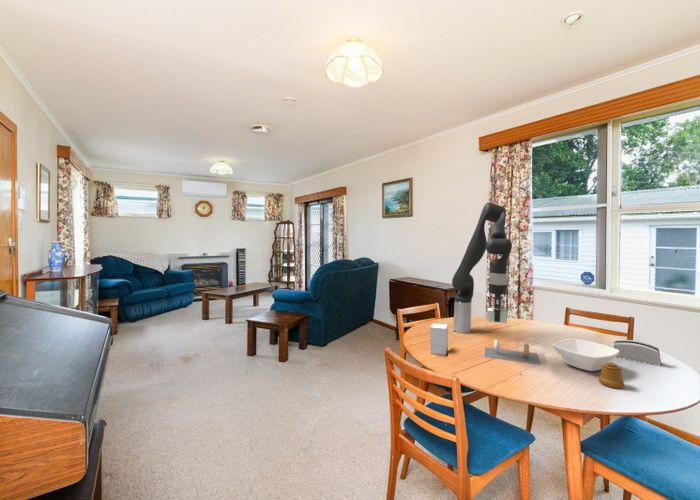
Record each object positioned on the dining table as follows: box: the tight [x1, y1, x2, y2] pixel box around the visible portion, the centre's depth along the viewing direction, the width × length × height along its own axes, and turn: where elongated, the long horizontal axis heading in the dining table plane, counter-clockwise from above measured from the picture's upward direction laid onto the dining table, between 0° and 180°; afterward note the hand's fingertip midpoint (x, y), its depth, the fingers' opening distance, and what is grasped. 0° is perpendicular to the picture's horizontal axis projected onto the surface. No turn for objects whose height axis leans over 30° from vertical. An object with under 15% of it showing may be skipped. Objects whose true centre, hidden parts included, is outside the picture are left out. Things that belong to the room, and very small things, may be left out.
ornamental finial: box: [598, 362, 625, 390], centre depth 125 cm, size 8×8×8 cm
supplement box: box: [429, 323, 449, 356], centre depth 159 cm, size 7×7×13 cm
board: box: [483, 339, 542, 366], centre depth 151 cm, size 22×14×8 cm, turn 66°
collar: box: [486, 307, 508, 324], centre depth 152 cm, size 8×6×5 cm
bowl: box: [552, 338, 619, 372], centre depth 141 cm, size 21×21×9 cm
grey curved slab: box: [613, 339, 662, 366], centre depth 149 cm, size 17×5×10 cm, turn 47°
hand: (497, 319), depth 153 cm, fingers closed on collar, 6 cm apart
